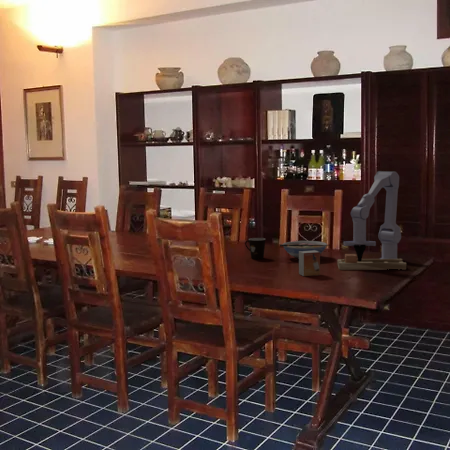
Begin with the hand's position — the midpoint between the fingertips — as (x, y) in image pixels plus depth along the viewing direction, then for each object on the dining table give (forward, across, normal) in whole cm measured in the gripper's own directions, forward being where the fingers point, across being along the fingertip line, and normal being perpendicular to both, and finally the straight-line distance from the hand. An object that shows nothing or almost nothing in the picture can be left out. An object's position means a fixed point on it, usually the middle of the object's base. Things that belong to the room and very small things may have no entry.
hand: (359, 261), depth 285 cm
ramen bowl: (+3, -25, +25) cm, 35 cm away
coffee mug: (+3, -50, +27) cm, 57 cm away
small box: (+3, -24, -16) cm, 29 cm away
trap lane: (+3, +5, 0) cm, 6 cm away
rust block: (+1, -4, 0) cm, 4 cm away
